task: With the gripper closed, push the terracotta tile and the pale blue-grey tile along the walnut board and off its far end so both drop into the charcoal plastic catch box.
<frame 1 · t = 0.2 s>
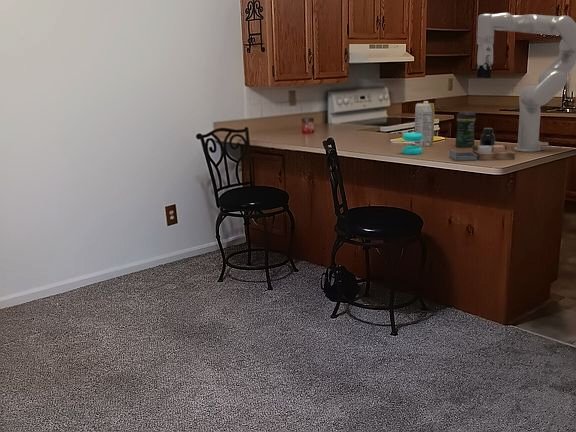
hand: (483, 77, 284), 36 cm above the table, tool pointing down, fingers open, 9 cm apart
supplement bottle: (486, 153, 291), on the table
catch box: (463, 158, 276), on the table
donuts: (412, 153, 297), on the table
tile front: (484, 151, 275), point 3 cm above the table, touching board
board: (492, 157, 276), on the table
coffee jar: (464, 147, 313), on the table
tile rear: (497, 151, 275), point 3 cm above the table, touching board
juice carton: (423, 145, 322), on the table
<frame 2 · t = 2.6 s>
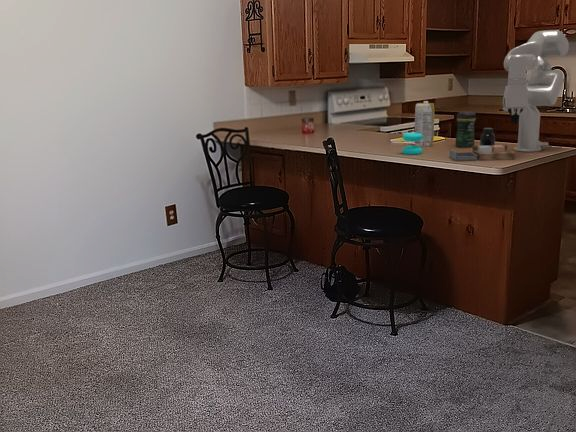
hand: (514, 123, 271), 16 cm above the table, tool pointing down, fingers closed
nothing on the table moved.
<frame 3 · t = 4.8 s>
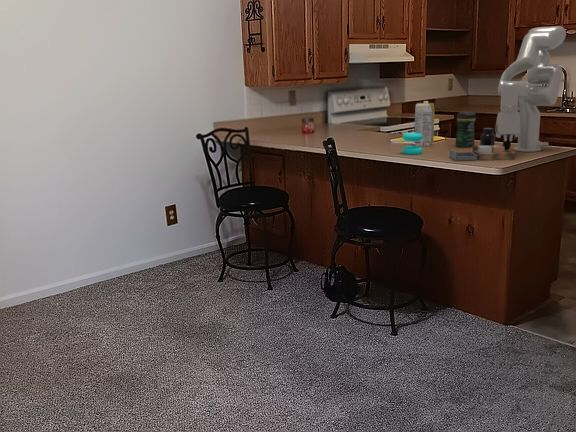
hand: (506, 149, 274), 4 cm above the table, tool pointing down, fingers closed
tile rear: (497, 151, 275), point 3 cm above the table, touching gripper
everything else where it was.
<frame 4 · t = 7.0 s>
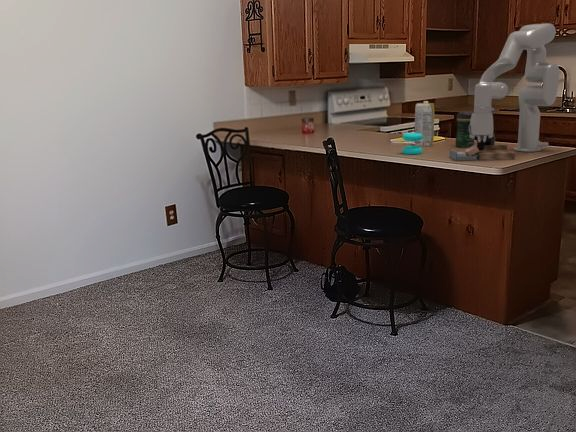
hand: (480, 150, 275), 4 cm above the table, tool pointing down, fingers closed
tile front: (459, 152, 275), point 3 cm above the table, tilted 180°, touching catch box
tile rear: (473, 153, 276), point 3 cm above the table, tilted 30°, touching catch box
everything else where it was.
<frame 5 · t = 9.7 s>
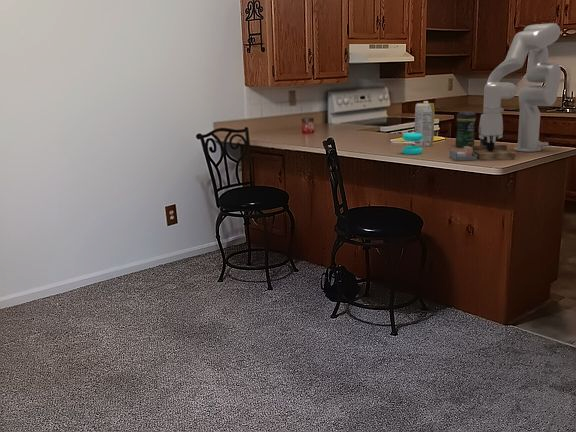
hand: (490, 150, 275), 3 cm above the table, tool pointing down, fingers closed
tile rear: (470, 152, 276), point 3 cm above the table, tilted 90°, touching catch box
everything else where it was.
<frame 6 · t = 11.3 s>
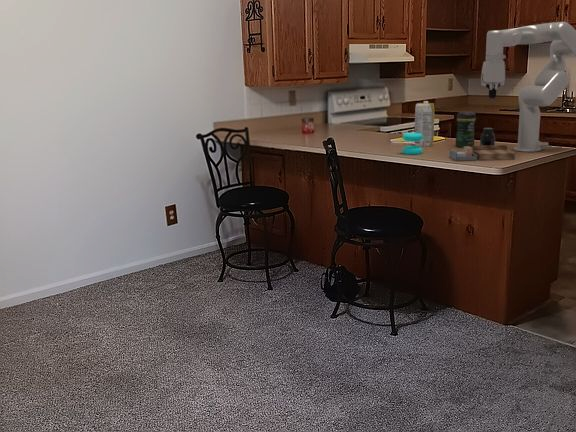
hand: (492, 98, 277), 27 cm above the table, tool pointing down, fingers closed
nothing on the table moved.
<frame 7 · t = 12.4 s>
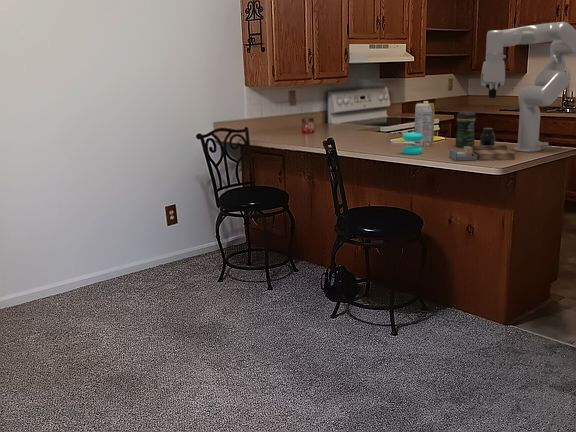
hand: (492, 98, 277), 27 cm above the table, tool pointing down, fingers closed
nothing on the table moved.
at the end: tile front inside the target area on the catch box (1.9 cm from its centre), point 2.9 cm above the catch box's base; tile rear inside the target area on the catch box (3.4 cm from its centre), point 2.9 cm above the catch box's base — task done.
